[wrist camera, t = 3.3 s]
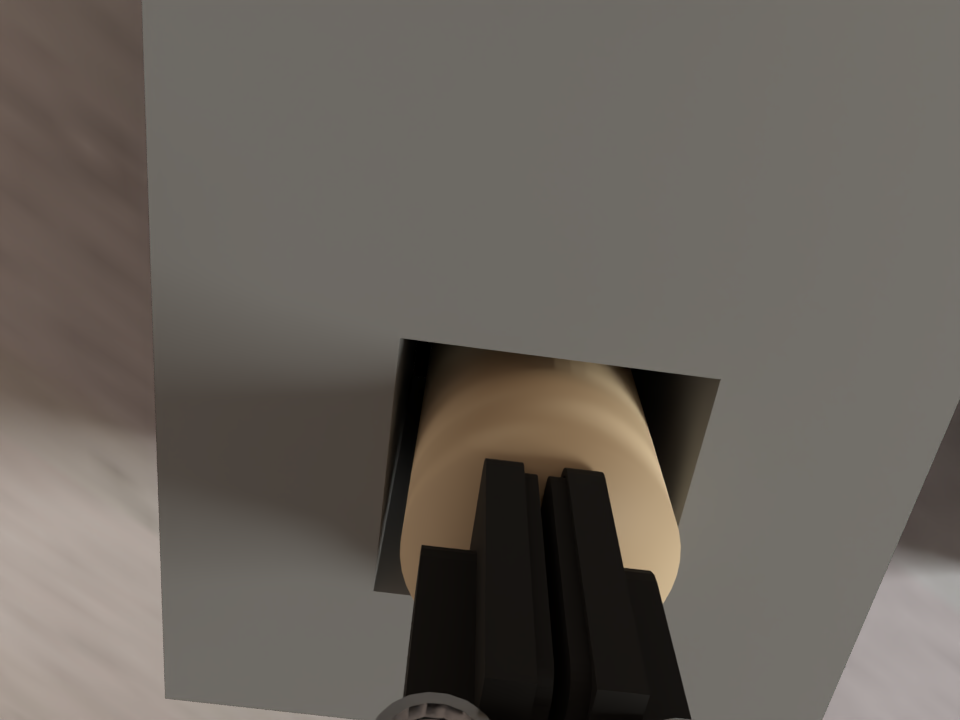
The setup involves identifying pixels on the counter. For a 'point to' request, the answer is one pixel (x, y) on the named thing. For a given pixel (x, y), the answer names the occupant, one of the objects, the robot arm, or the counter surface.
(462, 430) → the peg
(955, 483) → the counter surface
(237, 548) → the collar block
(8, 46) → the counter surface
